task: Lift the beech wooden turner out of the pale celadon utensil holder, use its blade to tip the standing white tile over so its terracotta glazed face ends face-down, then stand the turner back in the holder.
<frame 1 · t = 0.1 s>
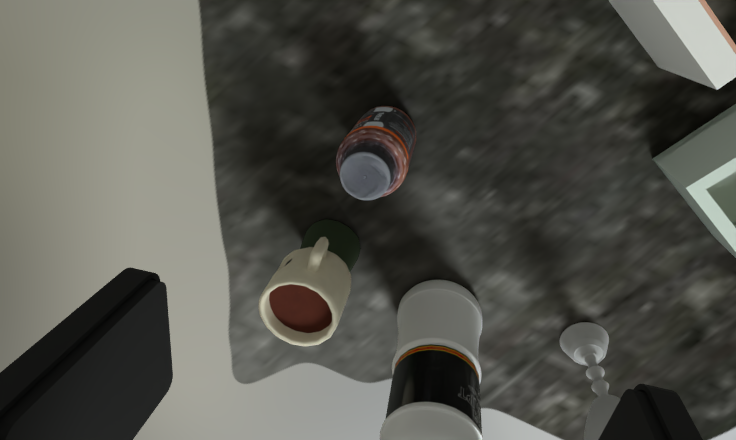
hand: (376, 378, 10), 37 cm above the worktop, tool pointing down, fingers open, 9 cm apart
tile: (642, 19, 37), on the worktop
character mug: (334, 241, 52), on the worktop
chalice: (583, 339, 52), on the worktop
vodka: (439, 309, 53), on the worktop
supplement bottle: (386, 134, 45), on the worktop
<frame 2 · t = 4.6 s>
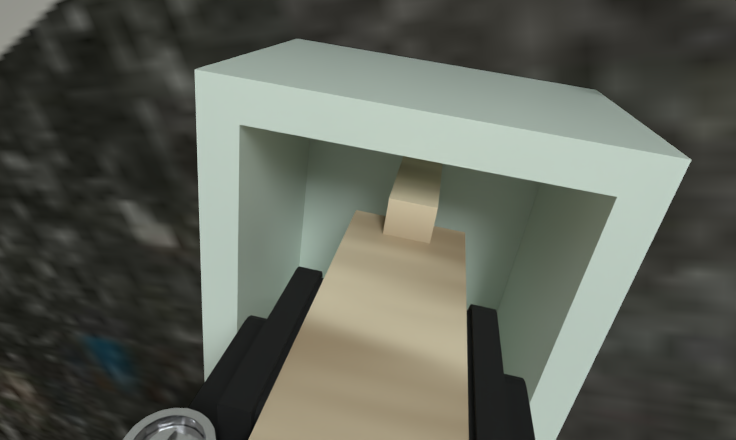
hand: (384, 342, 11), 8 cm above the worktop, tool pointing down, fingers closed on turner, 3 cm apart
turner: (413, 208, 17), point 1 cm above the worktop, touching gripper
holder: (414, 199, 18), on the worktop
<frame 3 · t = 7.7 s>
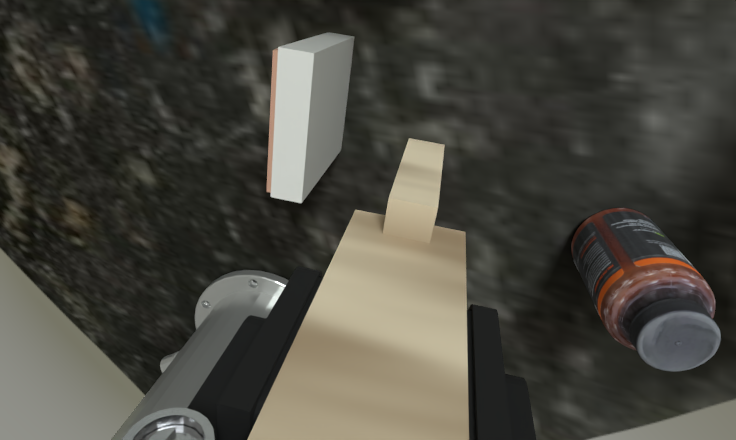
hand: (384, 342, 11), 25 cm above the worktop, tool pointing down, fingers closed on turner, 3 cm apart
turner: (413, 207, 17), point 17 cm above the worktop, touching gripper
tile: (332, 93, 33), on the worktop
supplement bottle: (611, 240, 35), on the worktop
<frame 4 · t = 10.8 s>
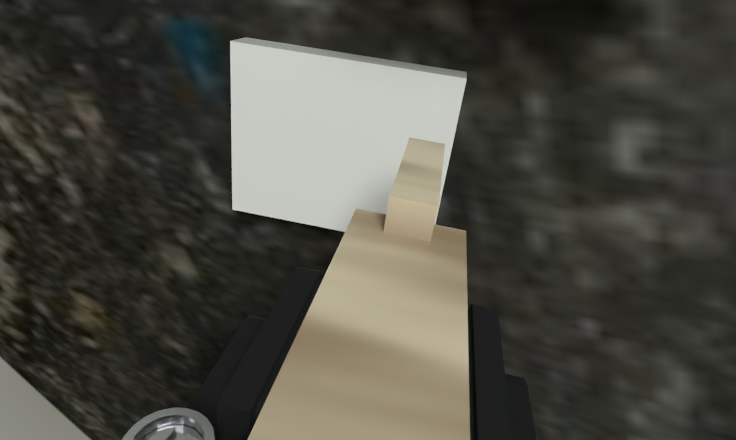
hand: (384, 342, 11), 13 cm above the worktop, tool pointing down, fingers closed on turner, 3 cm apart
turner: (413, 206, 17), point 6 cm above the worktop, touching gripper
tile: (447, 163, 21), point 1 cm above the worktop, tilted 90°
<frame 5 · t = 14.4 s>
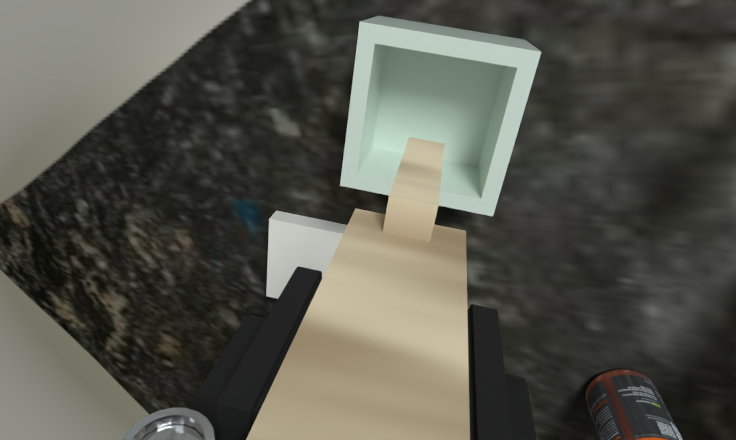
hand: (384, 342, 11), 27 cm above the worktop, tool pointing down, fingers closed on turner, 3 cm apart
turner: (413, 206, 17), point 19 cm above the worktop, touching gripper
tile: (381, 276, 41), point 1 cm above the worktop, tilted 90°
holder: (435, 100, 34), on the worktop
supplement bottle: (618, 389, 43), on the worktop
when the fingers open (10 cm above the worktop, at t = 17.6 s): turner drops 2 cm, resting on holder.
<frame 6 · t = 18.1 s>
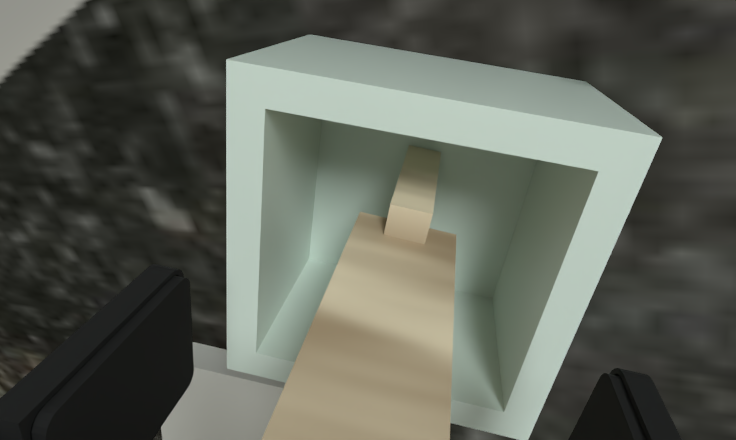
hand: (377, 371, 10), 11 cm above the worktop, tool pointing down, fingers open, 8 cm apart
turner: (410, 207, 18), point 1 cm above the worktop, touching holder
tile: (338, 438, 26), point 1 cm above the worktop, tilted 90°
holder: (418, 184, 19), on the worktop
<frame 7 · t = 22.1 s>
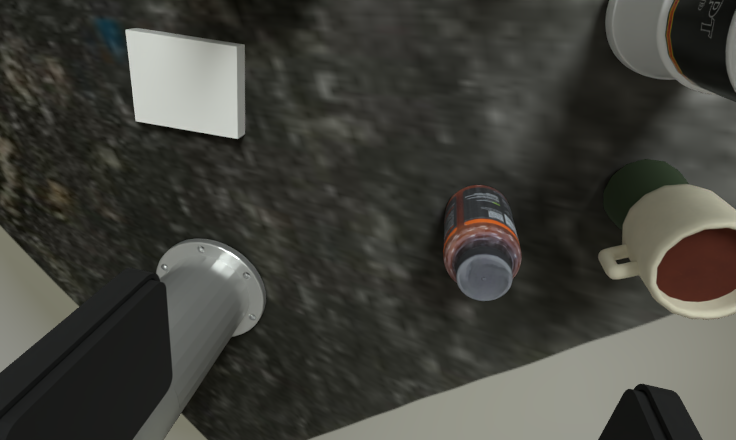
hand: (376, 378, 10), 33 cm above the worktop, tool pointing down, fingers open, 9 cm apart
tile: (242, 92, 42), point 1 cm above the worktop, tilted 90°
character mug: (639, 191, 40), on the worktop
vodka: (670, 8, 34), on the worktop
supplement bottle: (477, 211, 44), on the worktop
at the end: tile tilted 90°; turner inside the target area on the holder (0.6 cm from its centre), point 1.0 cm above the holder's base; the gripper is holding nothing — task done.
